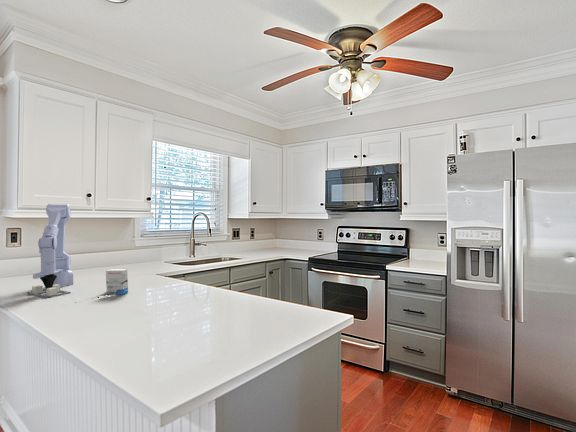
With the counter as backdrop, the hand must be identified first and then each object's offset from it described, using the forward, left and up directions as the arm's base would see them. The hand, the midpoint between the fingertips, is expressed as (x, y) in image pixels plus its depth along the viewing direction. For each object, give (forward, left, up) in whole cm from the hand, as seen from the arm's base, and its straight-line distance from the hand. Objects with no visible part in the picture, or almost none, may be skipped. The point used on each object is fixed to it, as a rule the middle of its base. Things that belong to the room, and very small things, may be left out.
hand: (48, 291), depth 163 cm
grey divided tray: (0, 0, -3) cm, 3 cm away
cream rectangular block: (-3, 0, -1) cm, 3 cm away
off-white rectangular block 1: (+2, -6, -1) cm, 6 cm away
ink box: (-18, +25, -3) cm, 31 cm away
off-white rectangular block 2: (+2, +6, -1) cm, 6 cm away
